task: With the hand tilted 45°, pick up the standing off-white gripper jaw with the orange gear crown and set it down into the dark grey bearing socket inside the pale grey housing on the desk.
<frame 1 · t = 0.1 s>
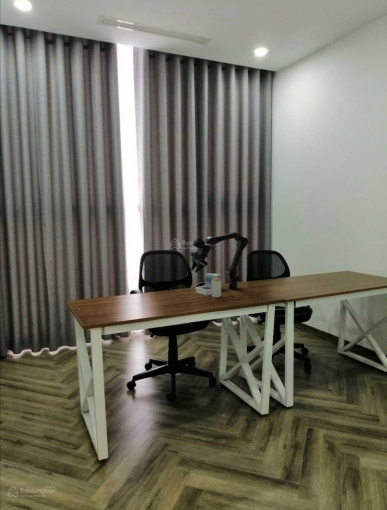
hand: (193, 271, 260), 15 cm above the table, tool tilted 35°, fingers open, 9 cm apart
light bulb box: (213, 288, 273), on the table
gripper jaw: (216, 296, 248), on the table
housing: (207, 292, 258), on the table
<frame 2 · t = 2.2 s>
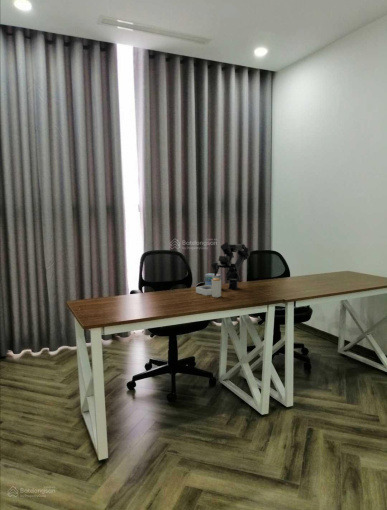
hand: (220, 276, 252), 13 cm above the table, tool tilted 45°, fingers open, 9 cm apart
nothing on the table moved.
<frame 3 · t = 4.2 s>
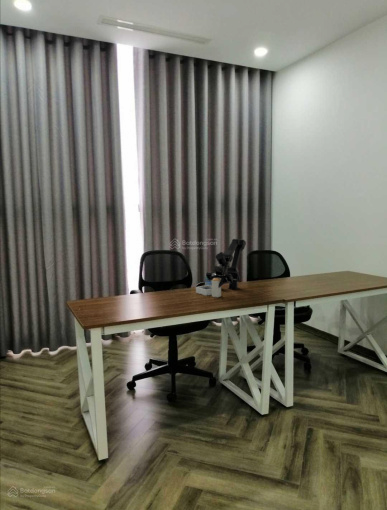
hand: (215, 287, 246), 7 cm above the table, tool tilted 45°, fingers closed on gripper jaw, 5 cm apart
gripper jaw: (216, 296, 248), on the table, touching gripper
everything else where it was.
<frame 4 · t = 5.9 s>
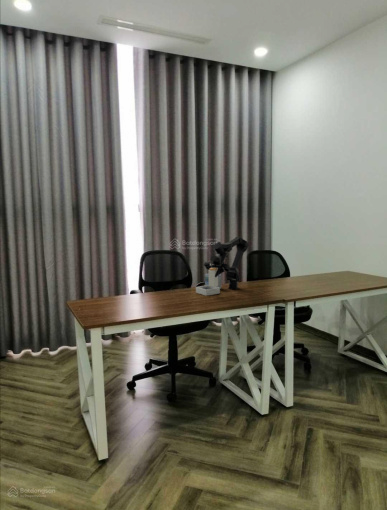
hand: (212, 276, 247), 13 cm above the table, tool tilted 45°, fingers closed on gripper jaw, 5 cm apart
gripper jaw: (213, 285, 249), point 7 cm above the table, touching gripper
everything else where it was.
when the fingers open (9 cm above the table, at t = 7.9 s): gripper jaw drops 1 cm, resting on housing.
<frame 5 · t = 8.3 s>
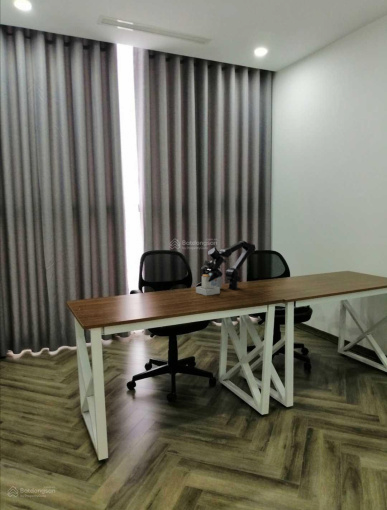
hand: (204, 280, 256), 9 cm above the table, tool tilted 45°, fingers open, 9 cm apart
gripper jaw: (206, 291, 258), point 1 cm above the table, touching housing
everything else where it was.
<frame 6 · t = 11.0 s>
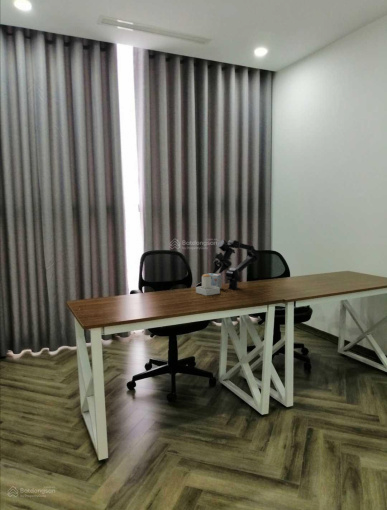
hand: (216, 273, 261), 13 cm above the table, tool tilted 40°, fingers open, 9 cm apart
nothing on the table moved.
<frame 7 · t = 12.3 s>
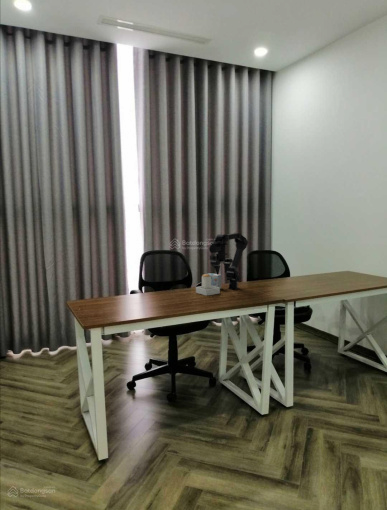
hand: (221, 273, 260), 13 cm above the table, tool pointing down, fingers open, 9 cm apart
nothing on the table moved.
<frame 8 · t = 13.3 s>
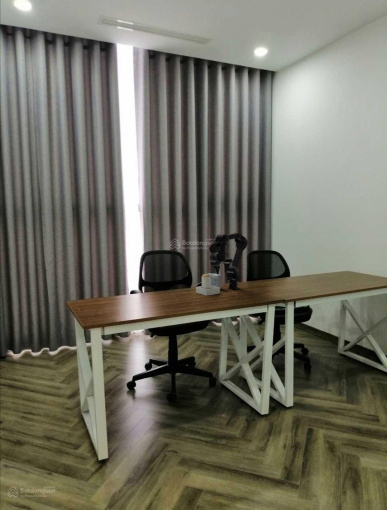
hand: (221, 273, 260), 13 cm above the table, tool pointing down, fingers open, 9 cm apart
nothing on the table moved.
at the end: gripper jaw 0.1 cm from the target spot on the housing, point 1.0 cm above the housing's base; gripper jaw tilted 0°; the gripper is holding nothing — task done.
